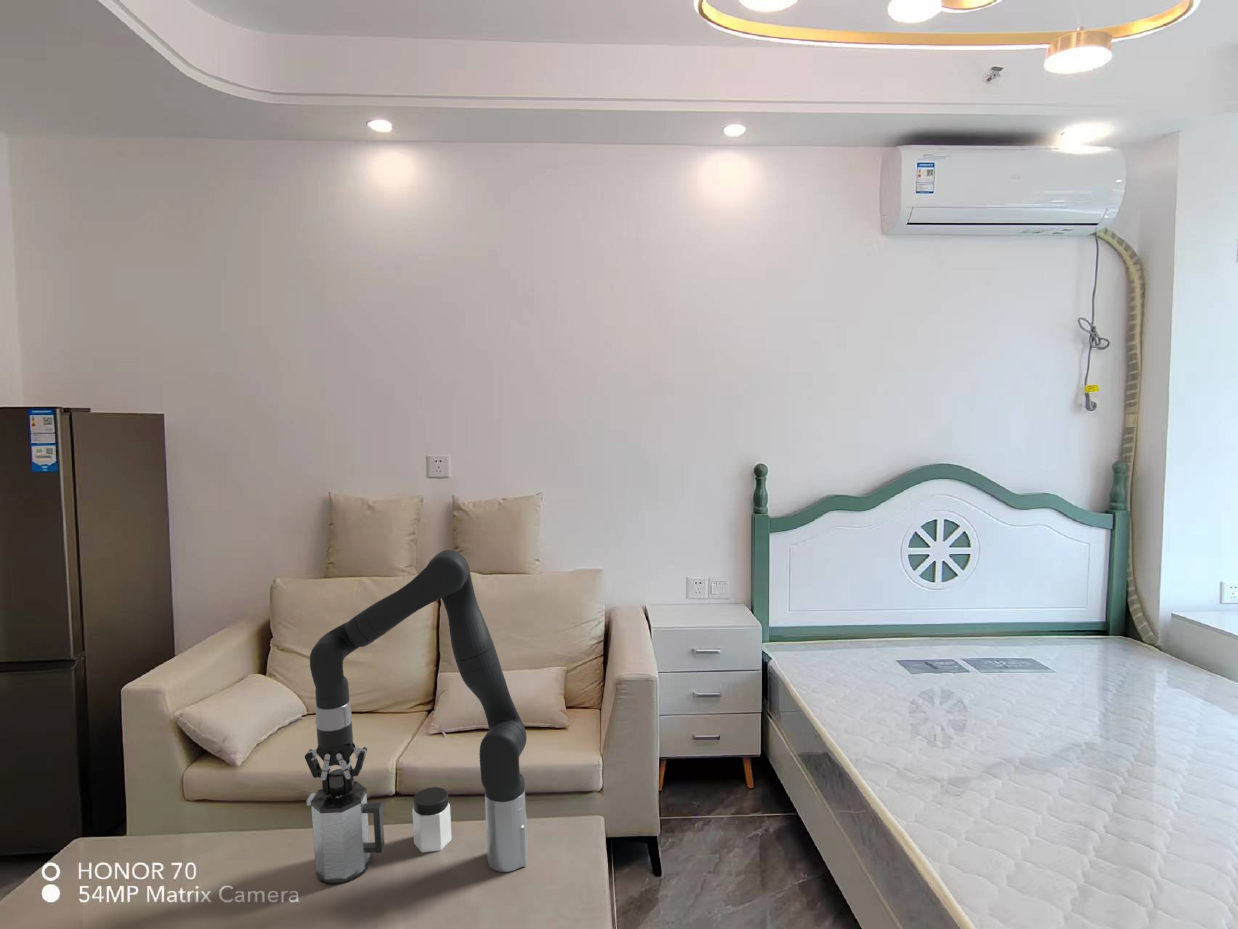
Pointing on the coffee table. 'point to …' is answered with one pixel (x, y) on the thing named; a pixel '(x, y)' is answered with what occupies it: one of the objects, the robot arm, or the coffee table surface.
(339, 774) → the plunger
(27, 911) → the coffee table surface
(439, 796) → the jar
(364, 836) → the press pot
